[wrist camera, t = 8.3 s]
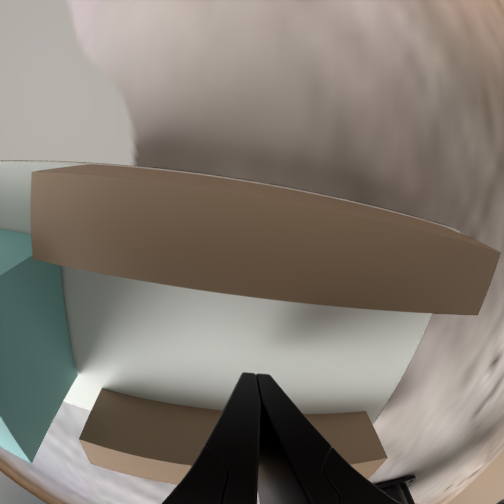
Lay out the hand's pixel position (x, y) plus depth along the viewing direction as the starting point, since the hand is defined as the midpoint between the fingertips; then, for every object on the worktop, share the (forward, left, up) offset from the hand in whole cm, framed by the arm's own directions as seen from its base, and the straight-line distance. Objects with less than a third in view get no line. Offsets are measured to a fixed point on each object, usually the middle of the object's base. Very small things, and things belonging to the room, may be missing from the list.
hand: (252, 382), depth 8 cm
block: (+10, 0, -2) cm, 11 cm away
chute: (+4, 0, -2) cm, 5 cm away
